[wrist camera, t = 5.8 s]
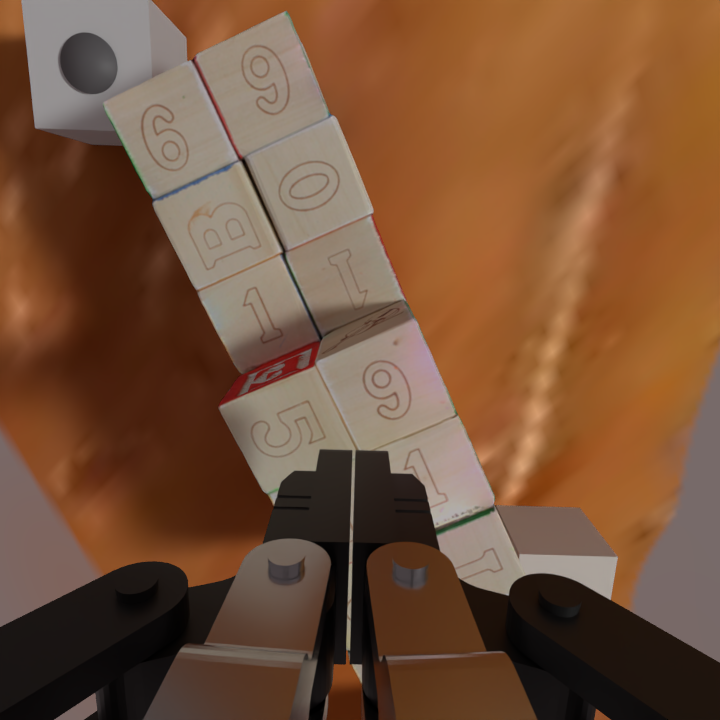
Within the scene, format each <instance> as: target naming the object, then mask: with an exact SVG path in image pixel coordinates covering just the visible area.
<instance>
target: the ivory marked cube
mask: <svg viewBox="0 0 720 720" xmlns="http://www.w3.org/2000/svg"><path fill="white" fill-rule="evenodd" d="M496 510H497V512H498V514H499V516H500V518H501V521H502V523H503V525H504V527H505V530H506V532H507V534H508V536H509V538H510V541H511V543H512V545H513V548H514V550H515V552H516V554H517V557H518V559H519V561H520V563H521V566H522V568H523V570H524V572H525V574H526V575H529V574H536V573H547V574H555V575H560V576H564V577H567V578H570V579H572V580H575V581H577V582H579V583H581V584H583V585H585V586H587V587H589V588H590V589H592V590H594V591H596V592H597V593H599V594H601V595H603V596H604V597H606V598H608V599H610V600H611V594H612V588H613V582H614V576H615V570H616V564H617V558H618V557H617V555H616V554H615V553H614V551H613V550H612V549H611V548H610V546H609V545H608V544H607V542H606V541H605V540H604V538H603V537H602V536H601V535H600V533H599V532H598V531H597V529H596V528H595V527H594V526H593V524H592V523H591V522H590V520H589V519H588V518H587V516H586V515H585V514H584V513H583V511H582V510H581V509H580V508H572V507H537V506H503V505H496Z"/></svg>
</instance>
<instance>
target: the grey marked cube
mask: <svg viewBox="0 0 720 720" xmlns="http://www.w3.org/2000/svg"><path fill="white" fill-rule="evenodd" d="M22 9H23V19H24V28H25V38H26V47H27V57H28V66H29V76H30V85H31V95H32V104H33V114H34V123H35V128H36V129H39V130H43V131H46V132H50V133H53V134H57V135H60V136H63V137H67V138H70V139H74V140H77V141H81V142H84V143H87V144H91V145H117V146H123V145H122V143H121V141H120V139H119V137H118V135H117V133H116V131H115V129H114V128H113V126H112V124H111V122H110V120H109V118H108V116H107V115H106V112H105V110H104V107H103V102H105V101H107V100H108V99H110V98H112V97H114V96H116V95H118V94H121V93H123V92H125V91H127V90H128V89H130V88H133V87H135V86H138V85H140V84H142V83H143V82H145V81H147V80H149V79H151V78H153V77H155V76H157V75H159V74H161V73H163V72H165V71H167V70H169V69H172V68H174V67H176V66H178V65H180V64H182V63H185V62H187V45H186V37H185V36H184V35H183V34H182V33H181V32H180V31H179V29H178V28H177V27H176V26H175V25H174V24H173V23H172V22H171V21H170V20H169V19H168V18H167V17H166V16H165V15H164V13H163V12H162V11H161V10H160V9H159V8H158V7H157V6H156V5H155V4H154V3H153V2H152V1H151V0H22Z"/></svg>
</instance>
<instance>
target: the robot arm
mask: <svg viewBox="0 0 720 720" xmlns="http://www.w3.org/2000/svg"><path fill="white" fill-rule="evenodd" d="M351 483H352V450H333V449H320V450H319V455H318V461H317V467H316V471H293V472H292V473H291V474H290V475H288V476H287V477H286V478H285V479H284V480H283V481H281V484H280V487H279V490H278V494H277V498H276V500H275V504H274V509H273V511H272V514H271V517H270V521H269V524H268V527H267V531H266V534H265V537H264V541H263V544H262V545H259V546H258V547H256V548H254V549H253V550H252V551H250V552H249V553H248V554H247V555H246V557H245V558H244V560H243V562H242V564H241V566H240V568H239V570H238V573H237V575H236V576H234V577H231V578H229V579H226V580H223V581H219V582H215V583H210V584H205V585H200V586H194V587H189V588H188V579H187V576H186V575H185V573H184V572H183V571H182V570H181V569H180V568H178V567H176V566H175V565H172V564H169V563H164V562H154V561H153V562H141V563H135V564H131V565H127V566H124V567H121V568H119V569H117V570H114V571H112V572H110V573H108V574H106V575H104V576H102V577H100V578H98V579H96V580H94V581H92V582H90V583H88V584H86V585H84V586H82V587H80V588H78V589H76V590H74V591H72V592H70V593H68V594H66V595H64V596H62V597H60V598H58V599H56V600H54V601H52V602H50V603H48V604H46V605H44V606H42V607H40V608H38V609H36V610H34V611H32V612H30V613H28V614H26V615H24V616H22V617H20V618H18V619H16V620H14V621H12V622H10V623H8V624H6V625H3V626H2V627H0V720H54V719H56V718H57V717H59V716H60V715H62V714H63V713H65V712H66V711H68V710H69V709H71V708H72V707H74V706H75V705H77V704H78V703H80V702H81V701H83V700H84V699H86V698H87V697H89V696H91V695H92V694H93V693H95V694H96V702H97V711H96V712H95V713H93V714H92V715H90V716H89V717H87V718H86V719H85V720H326V718H327V711H328V693H329V691H330V689H331V686H332V681H333V666H334V664H346V641H347V610H348V580H349V549H350V517H351ZM350 664H358V665H362V694H361V717H362V720H594V717H595V711H596V709H598V710H599V711H600V712H602V713H603V714H604V715H606V716H607V717H608V718H610V719H611V720H720V663H719V662H717V661H716V660H714V659H712V658H710V657H709V656H707V655H705V654H703V653H702V652H700V651H698V650H697V649H695V648H693V647H691V646H690V645H688V644H686V643H684V642H683V641H681V640H679V639H677V638H676V637H674V636H672V635H671V634H669V633H667V632H665V631H663V630H662V629H660V628H658V627H656V626H655V625H653V624H651V623H650V622H648V621H646V620H644V619H643V618H641V617H639V616H637V615H636V614H634V613H632V612H630V611H629V610H627V609H625V608H623V607H622V606H620V605H618V604H616V603H615V602H613V601H611V600H610V599H608V598H606V597H604V596H603V595H601V594H599V593H597V592H596V591H594V590H592V589H590V588H589V587H587V586H585V585H583V584H581V583H579V582H577V581H575V580H572V579H570V578H567V577H564V576H560V575H555V574H547V573H536V574H529V575H526V576H523V577H521V578H519V579H517V580H516V581H515V582H514V583H513V584H512V585H511V588H510V590H509V595H505V594H501V593H497V592H493V591H489V590H485V589H481V588H478V587H476V586H473V585H471V584H468V583H467V582H465V581H463V580H461V579H460V578H458V576H457V573H456V570H455V568H454V566H453V564H452V562H451V561H450V559H449V558H448V557H447V556H446V555H445V554H443V553H442V552H440V548H439V544H438V539H437V535H436V531H435V527H434V523H433V518H432V514H431V510H430V506H429V502H428V497H427V493H426V489H425V485H423V484H422V483H421V482H420V481H419V480H418V479H417V478H416V477H415V476H414V475H413V474H403V473H391V470H390V461H389V453H388V451H372V450H355V479H354V512H353V548H352V590H351V632H350Z"/></svg>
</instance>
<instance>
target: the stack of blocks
mask: <svg viewBox="0 0 720 720" xmlns="http://www.w3.org/2000/svg"><path fill="white" fill-rule="evenodd" d="M103 107H104V110H105V112H106V115H107V116H108V118H109V120H110V122H111V124H112V126H113V128H114V129H115V131H116V133H117V135H118V137H119V139H120V141H121V143H122V145H123V147H124V149H125V151H126V153H127V154H128V156H129V158H130V160H131V162H132V164H133V167H134V169H135V171H136V172H137V174H138V176H139V178H140V180H141V182H142V183H143V185H144V187H145V189H146V191H147V192H148V193H149V195H150V196H151V197H152V199H153V202H152V206H153V208H154V210H155V213H156V215H157V216H158V218H159V220H160V222H161V224H162V226H163V228H164V230H165V232H166V234H167V236H168V238H169V240H170V242H171V244H172V246H173V248H174V249H175V251H176V253H177V255H178V257H179V259H180V261H181V263H182V265H183V267H184V268H185V270H186V272H187V275H188V277H189V279H190V281H191V283H192V285H193V286H194V288H195V289H196V290H197V292H198V296H199V299H200V301H201V304H202V306H203V307H204V309H205V311H206V313H207V315H208V317H209V319H210V321H211V323H212V325H213V327H214V329H215V330H216V332H217V334H218V336H219V338H220V340H221V341H222V343H223V345H224V347H225V349H226V351H227V353H228V355H229V357H230V359H231V360H232V362H233V364H234V365H235V366H236V368H237V369H238V371H239V372H240V373H241V374H242V375H241V376H239V377H238V378H237V379H236V380H235V382H234V383H233V385H232V387H231V388H230V389H229V391H228V392H227V393H226V395H225V396H224V398H223V399H222V400H221V402H220V404H219V406H218V409H219V411H220V412H221V414H222V416H223V418H224V420H225V422H226V424H227V426H228V427H229V429H230V431H231V433H232V435H233V437H234V439H235V440H236V442H237V444H238V446H239V447H240V449H241V451H242V453H243V455H244V457H245V459H246V461H247V463H248V465H249V467H250V468H251V470H252V472H253V474H254V476H255V478H256V480H257V481H258V483H259V485H260V487H261V489H262V491H263V492H265V493H266V494H268V496H269V498H270V500H271V502H272V504H273V506H274V504H275V500H276V498H277V494H278V490H279V487H280V484H281V481H283V480H284V479H285V478H286V477H287V476H288V475H290V474H291V473H292V472H293V471H316V467H317V461H318V455H319V450H320V449H333V450H352V483H351V517H350V549H349V580H348V610H347V641H346V650H348V657H349V661H350V632H351V590H352V548H353V512H354V479H355V450H372V451H388V453H389V461H390V470H391V473H403V474H413V475H414V476H415V477H416V478H417V479H418V480H419V481H420V482H421V483H422V484H423V485H425V489H426V493H427V497H428V502H429V506H430V510H431V514H432V518H433V523H434V527H435V531H436V535H437V539H438V544H439V548H440V552H442V553H443V554H445V555H446V556H447V557H448V558H449V559H450V561H451V562H452V564H453V566H454V568H455V570H456V573H457V576H458V578H460V579H461V580H463V581H465V582H467V583H468V584H471V585H473V586H476V587H478V588H481V589H485V590H489V591H493V592H497V593H501V594H505V595H509V590H510V588H511V585H512V584H513V583H514V582H515V581H516V580H517V579H519V578H521V577H523V576H526V574H525V572H524V570H523V568H522V566H521V563H520V561H519V559H518V557H517V554H516V552H515V550H514V548H513V545H512V543H511V541H510V538H509V536H508V534H507V532H506V530H505V527H504V525H503V523H502V521H501V518H500V516H499V514H498V512H497V510H496V508H495V506H494V501H495V496H494V494H493V491H492V489H491V486H490V484H489V482H488V480H487V478H486V476H485V474H484V471H483V469H482V466H481V464H480V462H479V459H478V457H477V455H476V452H475V450H474V448H473V445H472V443H471V441H470V439H469V436H468V434H467V432H466V430H465V427H464V425H463V423H462V421H461V419H460V417H459V416H458V414H457V412H456V409H455V407H454V404H453V402H452V400H451V397H450V395H449V392H448V390H447V388H446V386H445V384H444V382H443V380H442V377H441V375H440V373H439V371H438V368H437V366H436V364H435V361H434V359H433V357H432V354H431V352H430V350H429V347H428V345H427V343H426V341H425V338H424V336H423V334H422V332H421V329H420V327H419V324H418V322H417V320H416V319H415V317H414V315H413V313H412V311H411V309H410V307H409V305H408V303H407V300H406V297H405V295H404V293H403V291H402V288H401V286H400V283H399V281H398V278H397V276H396V273H395V271H394V268H393V266H392V263H391V261H390V258H389V256H388V253H387V251H386V249H385V246H384V244H383V241H382V238H381V236H380V233H379V231H378V228H377V226H376V224H375V221H374V218H373V216H372V215H373V210H374V209H373V207H372V204H371V202H370V199H369V197H368V194H367V192H366V189H365V186H364V184H363V181H362V179H361V176H360V174H359V171H358V169H357V166H356V164H355V161H354V159H353V157H352V154H351V152H350V149H349V147H348V145H347V142H346V140H345V137H344V135H343V132H342V130H341V128H340V125H339V123H338V120H337V118H336V117H335V116H333V115H331V114H330V113H329V110H328V108H327V105H326V103H325V100H324V97H323V95H322V92H321V90H320V87H319V84H318V82H317V79H316V77H315V74H314V71H313V69H312V66H311V64H310V61H309V59H308V56H307V53H306V51H305V48H304V46H303V45H302V43H301V42H300V40H299V37H298V35H297V33H296V30H295V28H294V25H293V23H292V20H291V18H290V15H289V14H288V12H287V11H285V12H283V13H281V14H279V15H276V16H274V17H272V18H270V19H268V20H266V21H264V22H262V23H260V24H258V25H256V26H254V27H252V28H250V29H248V30H246V31H244V32H242V33H240V34H238V35H236V36H234V37H232V38H229V39H227V40H225V41H223V42H220V43H218V44H216V45H214V46H212V47H210V48H208V49H206V50H204V51H202V52H200V53H198V54H196V56H195V57H194V59H193V60H190V61H187V62H185V63H182V64H180V65H178V66H176V67H174V68H172V69H169V70H167V71H165V72H163V73H161V74H159V75H157V76H155V77H153V78H151V79H149V80H147V81H145V82H143V83H142V84H140V85H138V86H135V87H133V88H130V89H128V90H127V91H125V92H123V93H121V94H118V95H116V96H114V97H112V98H110V99H108V100H107V101H105V102H103ZM351 665H352V666H353V668H354V670H355V672H356V674H357V676H358V678H359V680H360V682H361V684H362V665H358V664H351Z"/></svg>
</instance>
